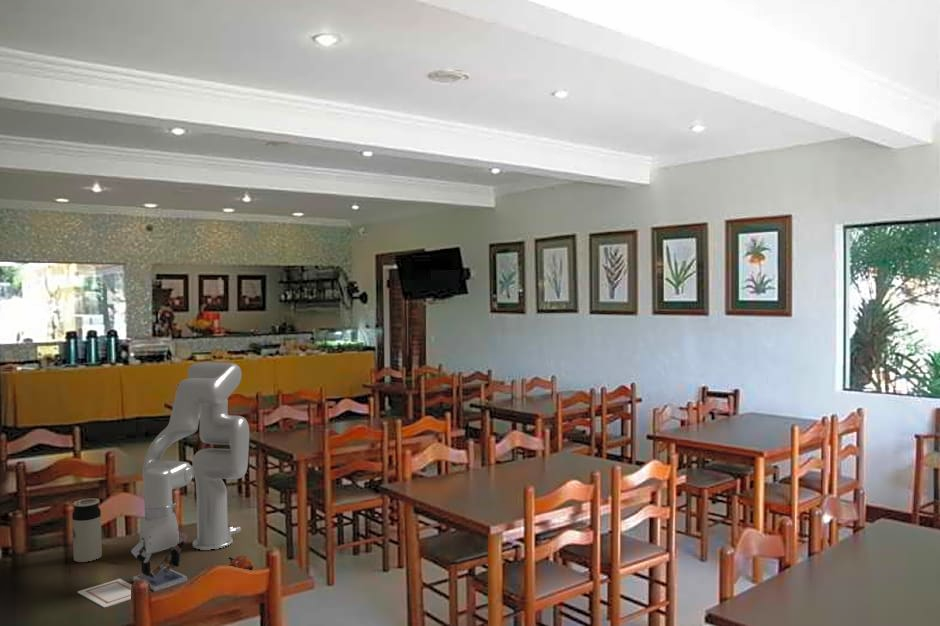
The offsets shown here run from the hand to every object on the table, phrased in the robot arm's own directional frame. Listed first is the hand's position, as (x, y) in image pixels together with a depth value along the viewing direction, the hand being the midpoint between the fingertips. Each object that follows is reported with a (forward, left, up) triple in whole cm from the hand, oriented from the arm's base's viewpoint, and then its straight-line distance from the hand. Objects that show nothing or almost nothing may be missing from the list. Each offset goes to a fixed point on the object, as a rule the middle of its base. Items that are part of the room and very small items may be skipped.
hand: (161, 569), depth 228 cm
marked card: (+14, -2, -3) cm, 14 cm away
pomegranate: (-14, +18, -3) cm, 24 cm away
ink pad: (+1, 0, -3) cm, 3 cm away
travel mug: (+6, -35, -3) cm, 35 cm away
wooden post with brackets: (0, 0, -1) cm, 1 cm away
